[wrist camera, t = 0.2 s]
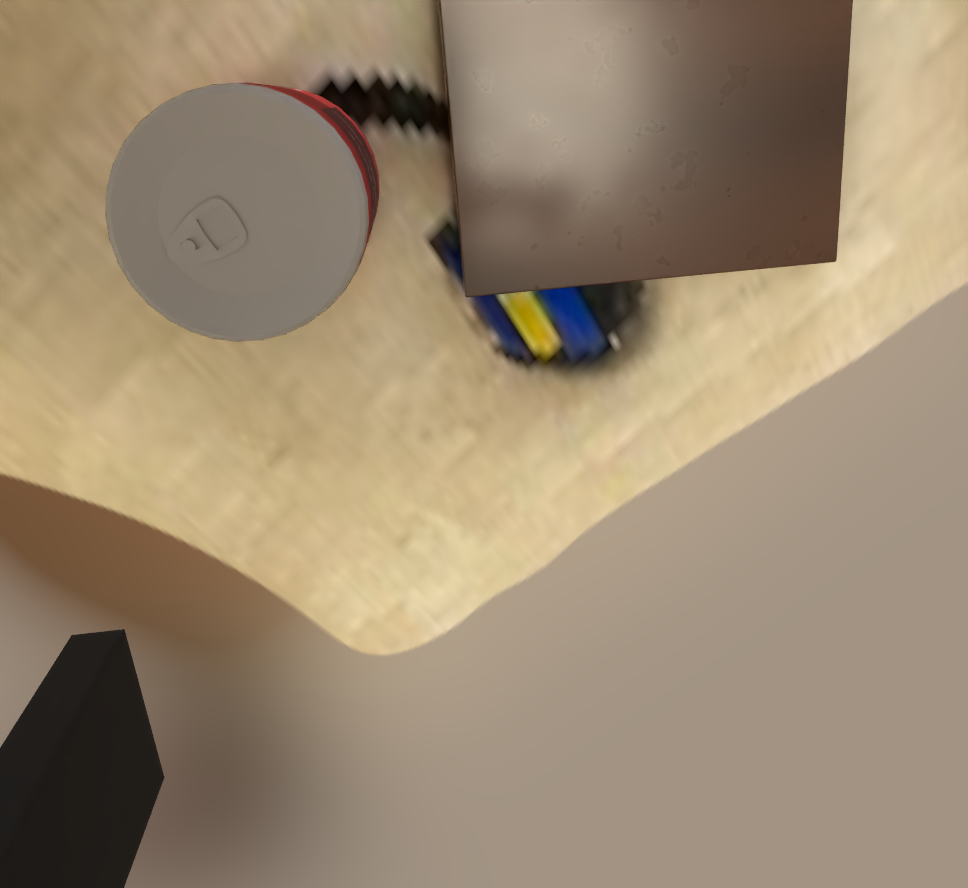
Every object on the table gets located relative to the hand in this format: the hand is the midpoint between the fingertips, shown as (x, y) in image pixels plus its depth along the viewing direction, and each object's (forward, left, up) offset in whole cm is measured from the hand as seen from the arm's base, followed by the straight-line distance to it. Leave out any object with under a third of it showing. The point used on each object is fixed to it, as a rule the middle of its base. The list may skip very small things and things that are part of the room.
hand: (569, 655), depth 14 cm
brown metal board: (-7, +8, -28) cm, 30 cm away
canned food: (-5, -7, -28) cm, 29 cm away
